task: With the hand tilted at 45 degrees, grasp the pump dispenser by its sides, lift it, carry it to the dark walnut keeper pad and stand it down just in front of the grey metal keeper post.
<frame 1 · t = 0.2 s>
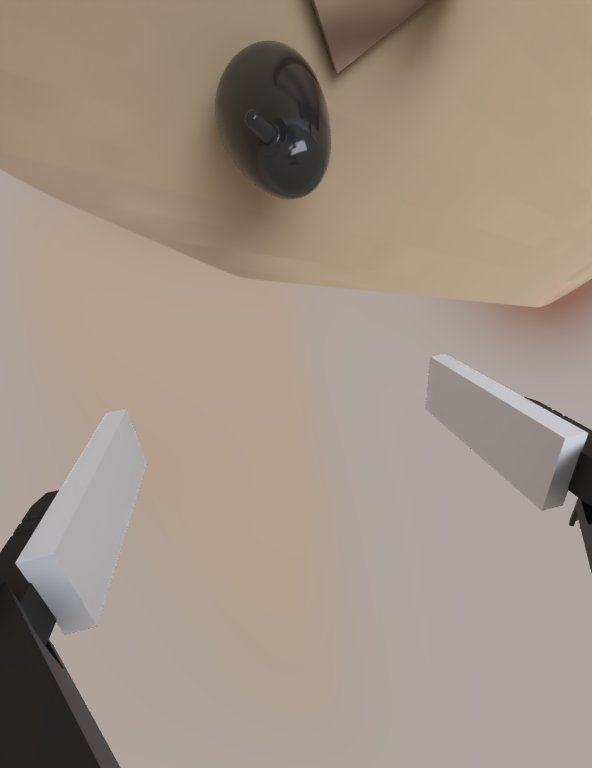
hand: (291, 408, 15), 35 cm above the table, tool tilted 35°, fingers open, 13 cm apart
pump dispenser: (260, 98, 34), on the table
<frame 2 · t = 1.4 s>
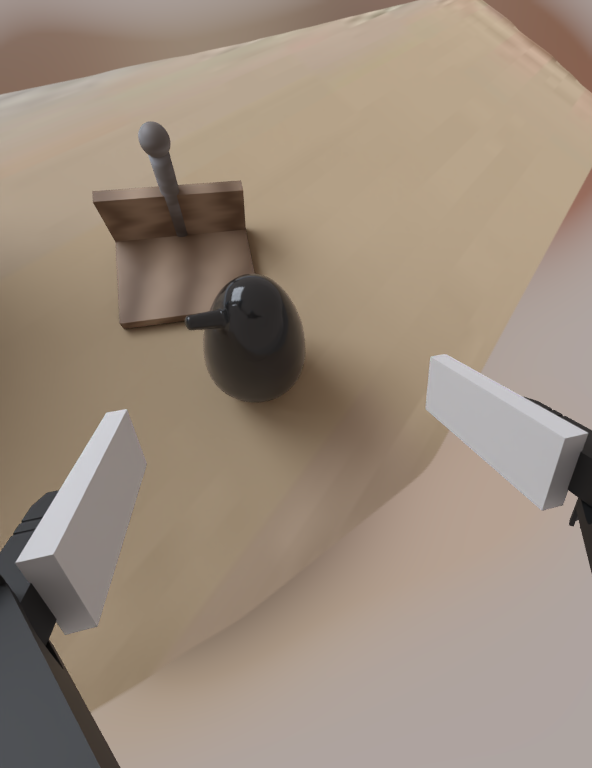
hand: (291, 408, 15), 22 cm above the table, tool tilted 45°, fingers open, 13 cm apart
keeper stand: (188, 274, 42), on the table
pump dispenser: (255, 369, 39), on the table
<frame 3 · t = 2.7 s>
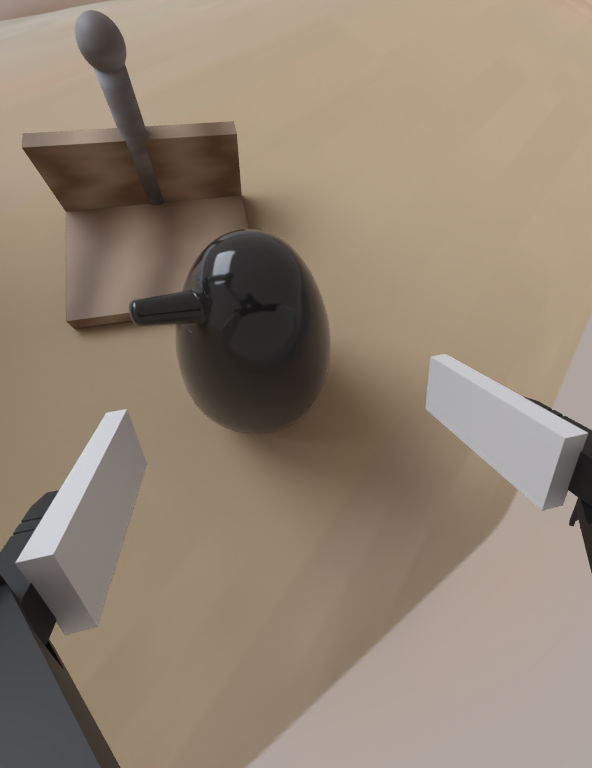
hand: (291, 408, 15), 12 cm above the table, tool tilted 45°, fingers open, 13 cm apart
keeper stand: (165, 254, 31), on the table
pump dispenser: (256, 383, 28), on the table
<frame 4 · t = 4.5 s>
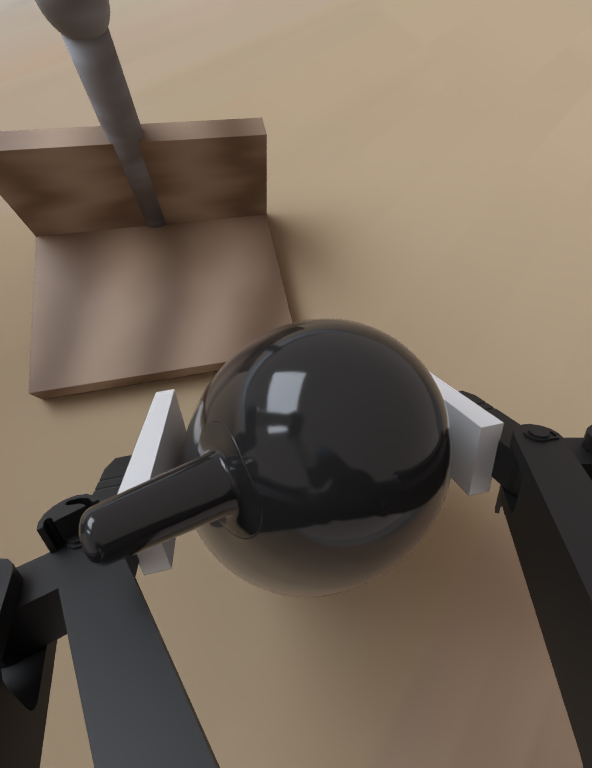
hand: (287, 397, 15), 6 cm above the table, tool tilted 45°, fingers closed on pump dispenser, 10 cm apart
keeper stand: (167, 292, 24), on the table
pump dispenser: (290, 475, 20), on the table, touching gripper
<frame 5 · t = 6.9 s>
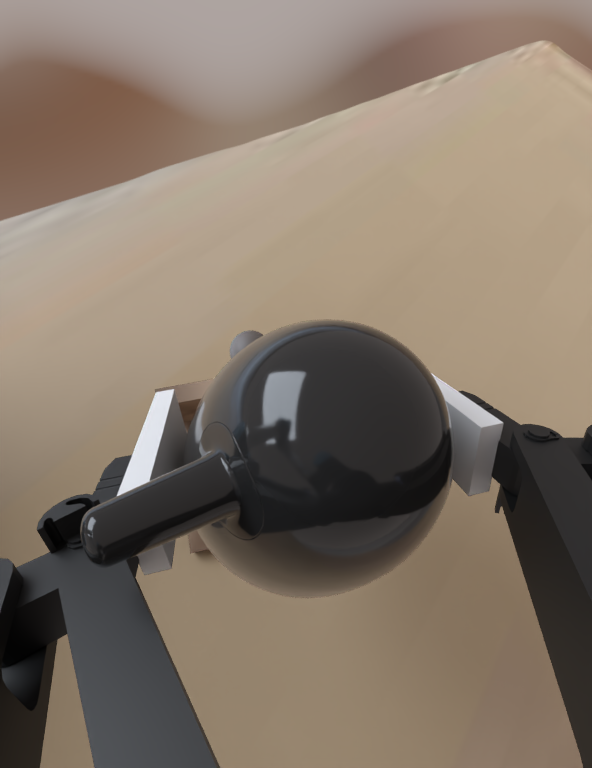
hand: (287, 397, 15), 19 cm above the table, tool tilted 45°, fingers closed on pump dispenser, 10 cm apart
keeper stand: (268, 459, 33), on the table
pump dispenser: (291, 476, 20), point 12 cm above the table, touching gripper
when the fingers open (8 cm above the table, at t = 9.6 s): pump dispenser drops 1 cm, resting on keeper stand.
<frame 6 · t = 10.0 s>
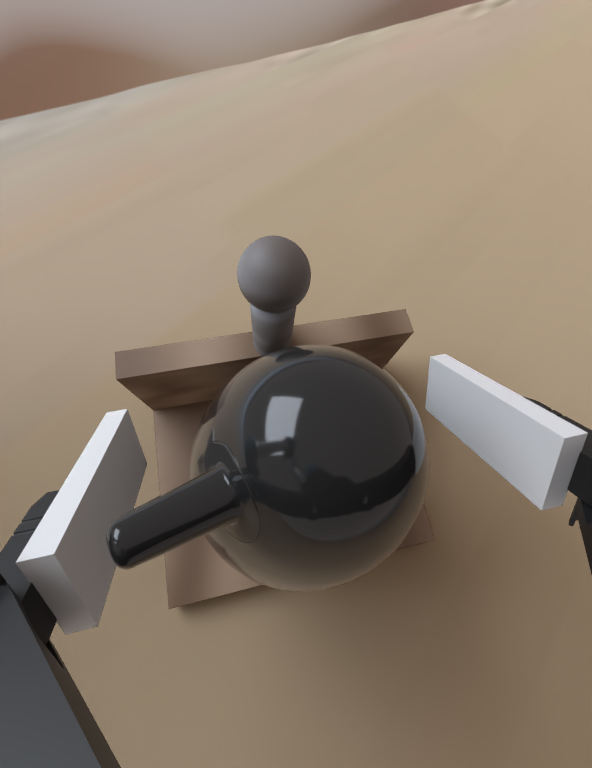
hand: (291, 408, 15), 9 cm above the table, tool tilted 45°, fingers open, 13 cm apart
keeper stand: (286, 463, 23), on the table
pump dispenser: (289, 477, 21), point 1 cm above the table, touching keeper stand
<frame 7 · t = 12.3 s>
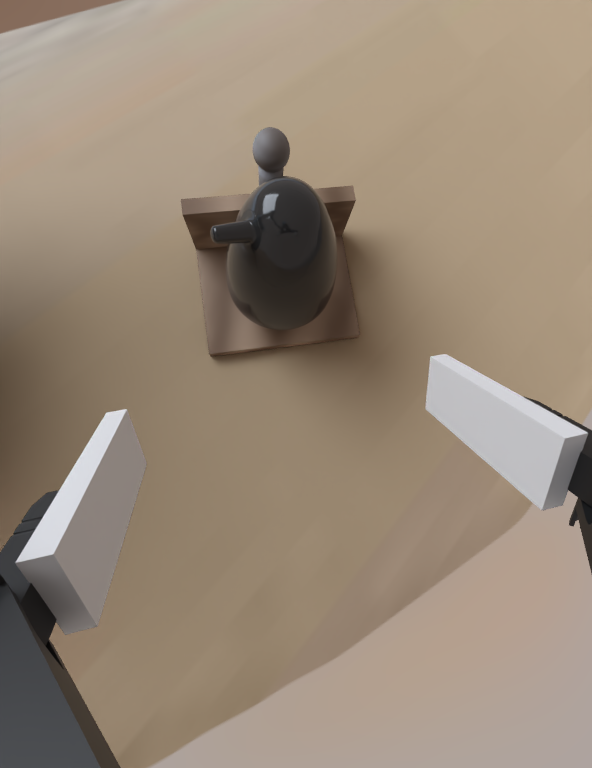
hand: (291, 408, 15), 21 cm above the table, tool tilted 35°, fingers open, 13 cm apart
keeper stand: (277, 290, 37), on the table
pump dispenser: (278, 295, 36), point 1 cm above the table, touching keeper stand
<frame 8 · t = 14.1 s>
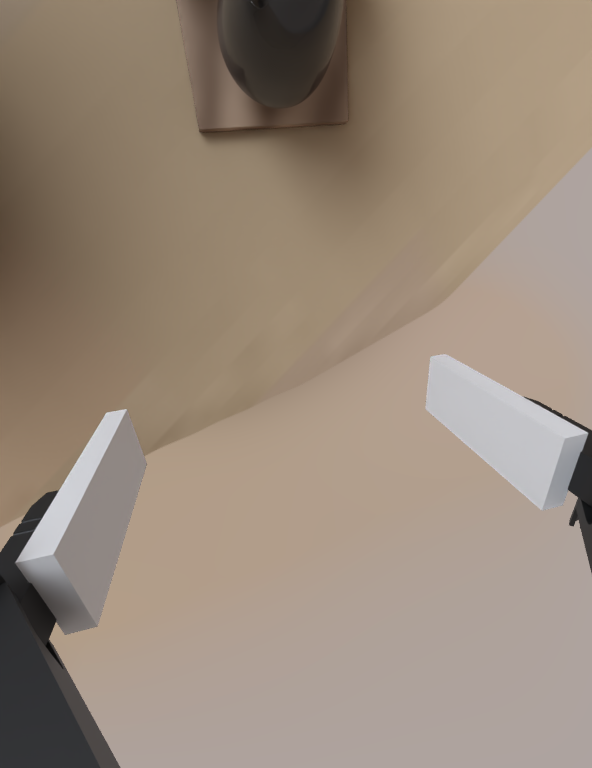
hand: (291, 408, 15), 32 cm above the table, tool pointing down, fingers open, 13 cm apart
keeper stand: (266, 48, 33), on the table
pump dispenser: (268, 56, 33), point 1 cm above the table, touching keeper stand
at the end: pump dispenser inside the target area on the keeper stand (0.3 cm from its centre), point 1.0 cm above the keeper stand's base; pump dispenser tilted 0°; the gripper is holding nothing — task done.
